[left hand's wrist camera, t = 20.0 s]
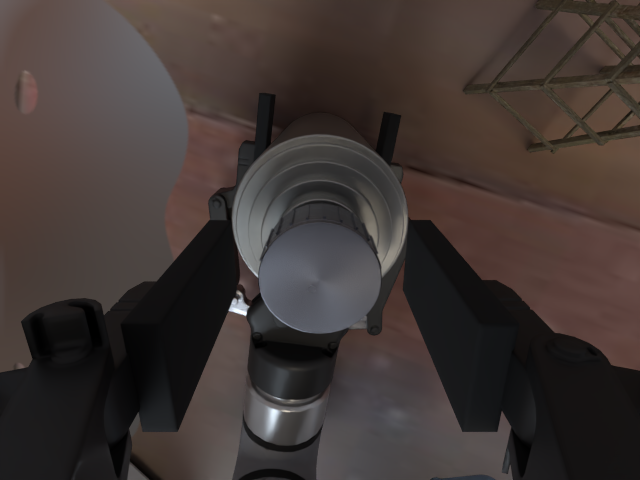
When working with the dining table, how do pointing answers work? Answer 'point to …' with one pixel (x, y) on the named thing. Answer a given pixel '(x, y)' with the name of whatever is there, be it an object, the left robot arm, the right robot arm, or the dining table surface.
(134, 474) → the electronic device
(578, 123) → the miniature windmill
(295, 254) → the cap
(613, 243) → the dining table surface
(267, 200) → the bottle
